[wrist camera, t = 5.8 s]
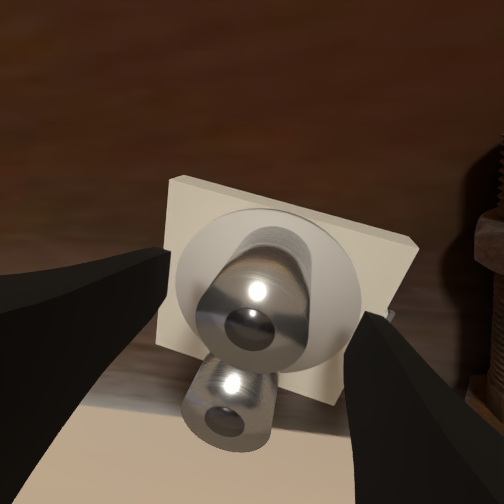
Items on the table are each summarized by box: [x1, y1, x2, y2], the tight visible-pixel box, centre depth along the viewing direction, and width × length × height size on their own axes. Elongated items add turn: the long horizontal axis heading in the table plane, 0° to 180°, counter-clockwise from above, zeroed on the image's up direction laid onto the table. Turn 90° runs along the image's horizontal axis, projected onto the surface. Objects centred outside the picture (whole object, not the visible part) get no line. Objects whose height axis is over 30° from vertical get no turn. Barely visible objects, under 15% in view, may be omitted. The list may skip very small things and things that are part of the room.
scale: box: [156, 175, 419, 406], centre depth 15 cm, size 12×11×2 cm
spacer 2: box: [181, 350, 280, 452], centre depth 13 cm, size 4×4×5 cm
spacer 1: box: [195, 226, 312, 374], centre depth 11 cm, size 4×4×5 cm
